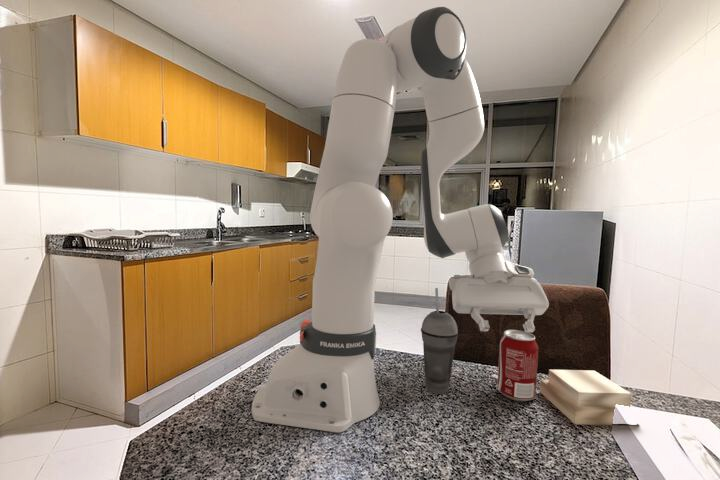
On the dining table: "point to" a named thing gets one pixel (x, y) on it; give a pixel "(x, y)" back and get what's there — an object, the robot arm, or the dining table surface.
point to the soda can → (518, 365)
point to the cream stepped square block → (584, 395)
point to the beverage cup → (438, 348)
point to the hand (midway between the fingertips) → (507, 330)
